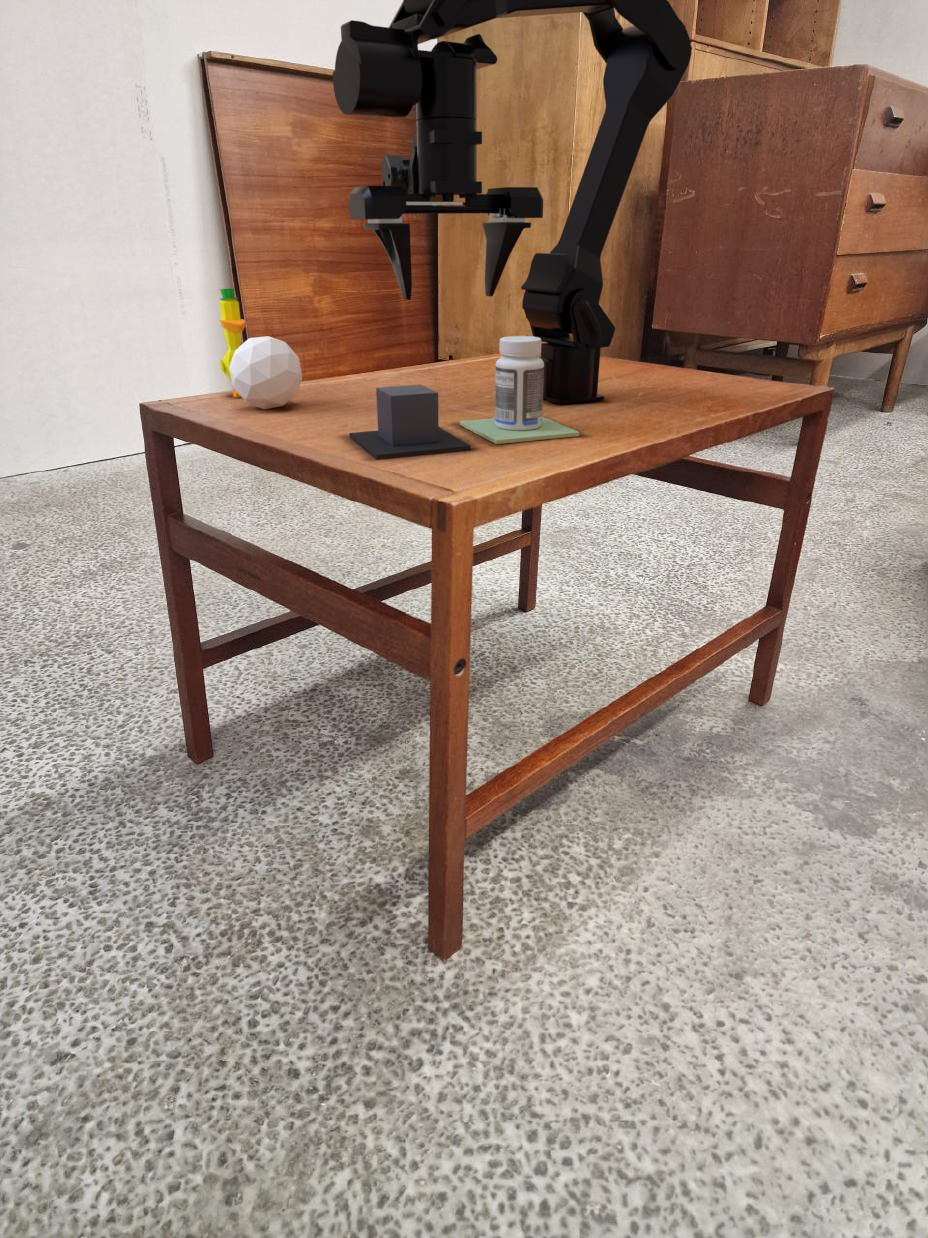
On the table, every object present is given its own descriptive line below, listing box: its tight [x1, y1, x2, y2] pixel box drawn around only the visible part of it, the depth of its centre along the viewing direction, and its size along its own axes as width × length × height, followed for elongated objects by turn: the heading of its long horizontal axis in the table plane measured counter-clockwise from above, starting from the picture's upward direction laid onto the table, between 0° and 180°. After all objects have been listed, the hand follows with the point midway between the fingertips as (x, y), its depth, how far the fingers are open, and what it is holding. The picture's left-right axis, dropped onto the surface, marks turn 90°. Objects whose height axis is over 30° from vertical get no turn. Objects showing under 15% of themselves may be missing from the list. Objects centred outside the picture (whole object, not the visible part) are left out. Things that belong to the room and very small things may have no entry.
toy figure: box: [219, 288, 247, 398], centre depth 94 cm, size 7×4×12 cm, turn 26°
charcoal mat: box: [348, 427, 472, 460], centre depth 75 cm, size 9×9×1 cm
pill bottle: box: [494, 335, 544, 430], centre depth 79 cm, size 5×5×8 cm
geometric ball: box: [229, 335, 303, 411], centre depth 89 cm, size 8×8×8 cm
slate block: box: [375, 384, 440, 446], centre depth 74 cm, size 4×4×4 cm
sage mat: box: [459, 416, 580, 445], centre depth 80 cm, size 9×9×1 cm
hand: (449, 297), depth 83 cm, fingers open, 9 cm apart
